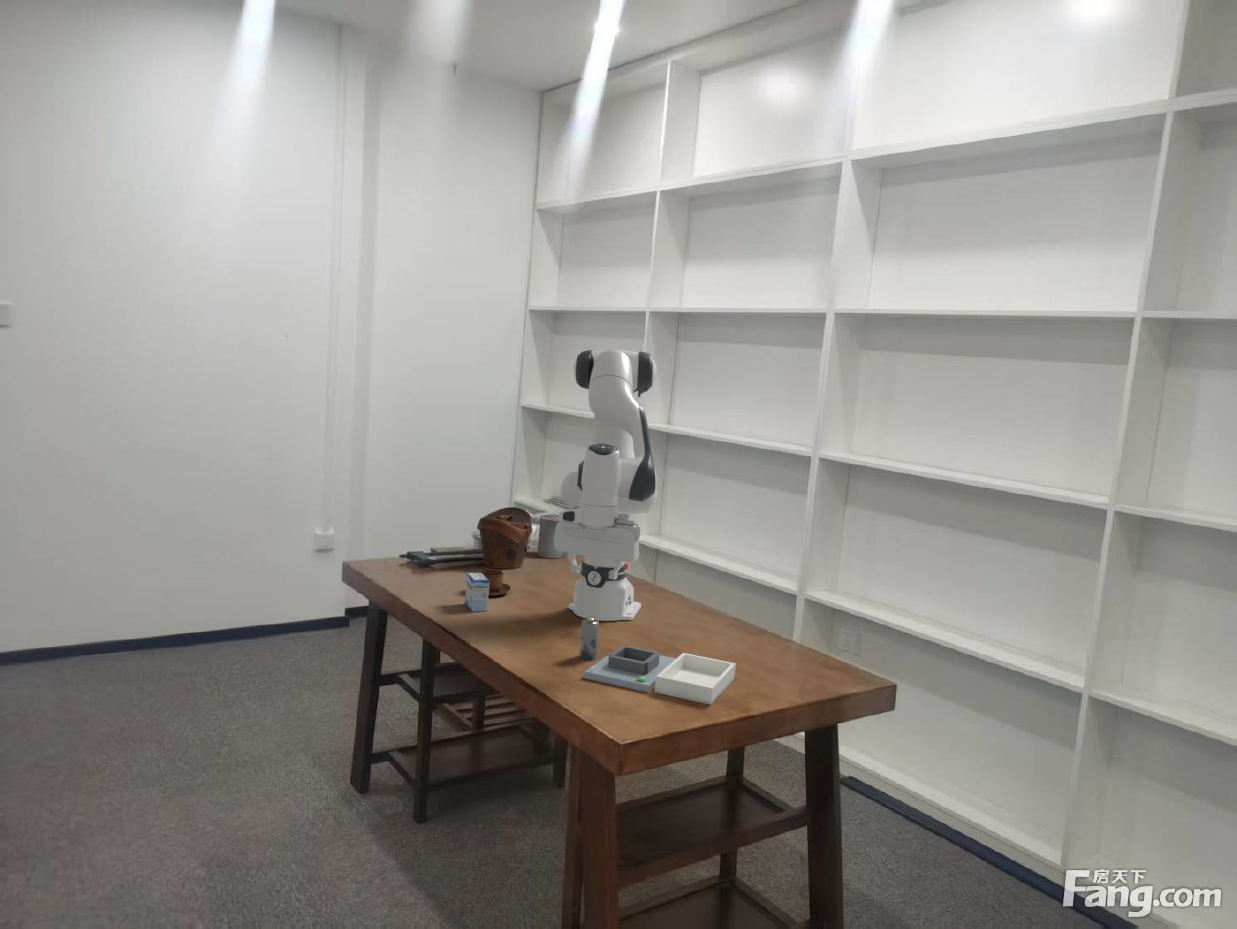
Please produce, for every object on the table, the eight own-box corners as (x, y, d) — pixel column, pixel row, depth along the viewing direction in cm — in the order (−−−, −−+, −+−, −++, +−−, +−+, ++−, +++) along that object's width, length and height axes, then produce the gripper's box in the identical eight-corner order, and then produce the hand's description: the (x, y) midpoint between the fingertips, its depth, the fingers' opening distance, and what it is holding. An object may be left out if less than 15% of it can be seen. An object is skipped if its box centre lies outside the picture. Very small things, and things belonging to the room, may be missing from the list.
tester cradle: (619, 653, 210) (620, 636, 209) (679, 665, 204) (680, 648, 203) (583, 678, 191) (585, 660, 191) (648, 692, 186) (650, 674, 185)
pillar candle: (549, 551, 314) (552, 510, 313) (570, 556, 309) (573, 514, 307) (531, 555, 306) (534, 512, 305) (553, 560, 301) (556, 517, 299)
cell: (583, 653, 208) (586, 614, 207) (599, 656, 206) (602, 617, 205) (576, 657, 204) (579, 618, 203) (592, 661, 202) (595, 621, 201)
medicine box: (464, 603, 241) (466, 572, 240) (480, 603, 243) (482, 572, 242) (471, 612, 234) (473, 580, 233) (487, 611, 236) (489, 579, 235)
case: (482, 573, 276) (485, 516, 274) (469, 558, 295) (472, 505, 293) (537, 572, 283) (541, 517, 281) (521, 557, 301) (524, 505, 299)
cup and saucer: (464, 588, 257) (465, 567, 256) (504, 587, 262) (505, 567, 261) (473, 599, 246) (474, 578, 245) (515, 598, 251) (516, 577, 250)
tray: (681, 667, 203) (683, 652, 202) (734, 678, 198) (735, 663, 198) (654, 692, 186) (656, 676, 186) (711, 704, 181) (712, 688, 181)
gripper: (645, 520, 200) (641, 580, 202) (564, 508, 208) (560, 566, 209) (635, 524, 194) (630, 585, 196) (552, 512, 202) (548, 571, 204)
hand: (594, 575), depth 203 cm, fingers open, 8 cm apart
